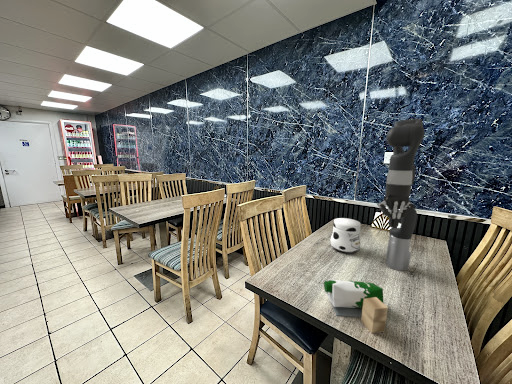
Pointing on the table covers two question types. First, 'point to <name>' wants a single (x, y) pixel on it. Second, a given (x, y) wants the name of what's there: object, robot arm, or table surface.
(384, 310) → the oak block
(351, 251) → the milk container
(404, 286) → the table surface
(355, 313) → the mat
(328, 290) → the soya milk
